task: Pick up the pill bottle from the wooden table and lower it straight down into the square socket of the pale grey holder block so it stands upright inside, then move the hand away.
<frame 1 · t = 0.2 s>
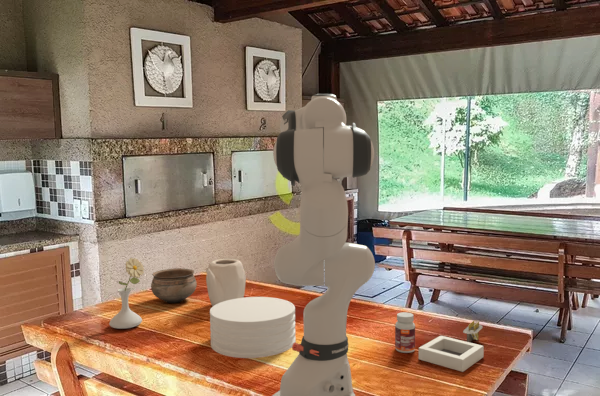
hand: (324, 185, 169), 52 cm above the table, tool tilted 20°, fingers open, 8 cm apart
cooking pot: (174, 301, 222), on the table
flower in vase: (128, 326, 190), on the table
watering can: (225, 307, 212), on the table
plate stack: (253, 342, 173), on the table
holder block: (451, 358, 156), on the table
pill bottle: (405, 350, 163), on the table
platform: (473, 343, 170), on the table
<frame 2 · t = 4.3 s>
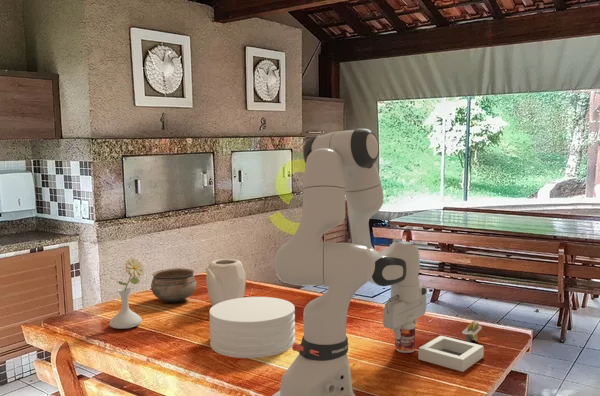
hand: (404, 335, 163), 5 cm above the table, tool pointing down, fingers closed on pill bottle, 6 cm apart
pill bottle: (405, 350, 163), on the table, touching gripper
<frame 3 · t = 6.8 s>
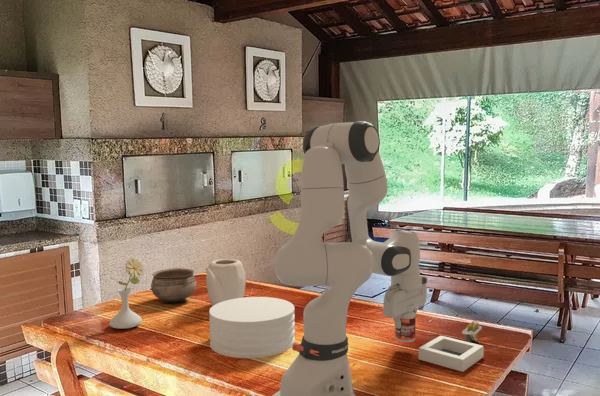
hand: (405, 324, 163), 8 cm above the table, tool pointing down, fingers closed on pill bottle, 6 cm apart
pill bottle: (405, 339, 163), point 3 cm above the table, touching gripper
everything else where it was.
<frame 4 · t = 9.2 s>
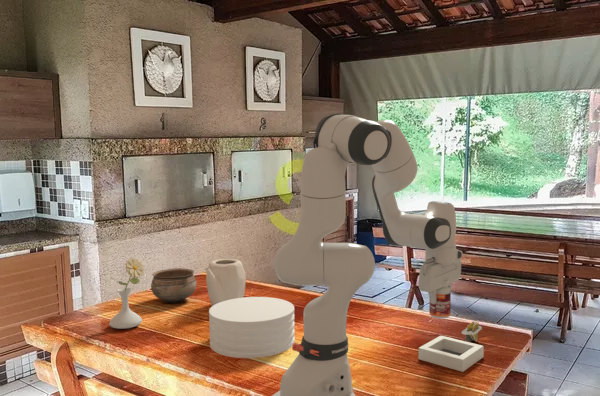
hand: (439, 300, 156), 17 cm above the table, tool pointing down, fingers closed on pill bottle, 6 cm apart
pill bottle: (439, 316, 157), point 12 cm above the table, touching gripper
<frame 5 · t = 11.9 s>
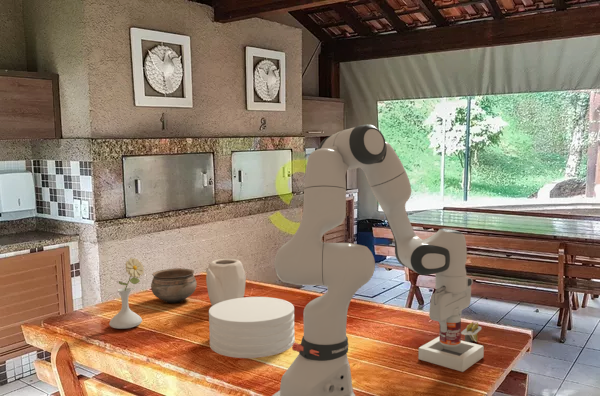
hand: (450, 328, 156), 9 cm above the table, tool pointing down, fingers closed on pill bottle, 6 cm apart
pill bottle: (450, 344, 156), point 4 cm above the table, touching gripper
when the fingers open (6 cm above the table, at t = 14.1 s): pill bottle stays where it is, resting on holder block.
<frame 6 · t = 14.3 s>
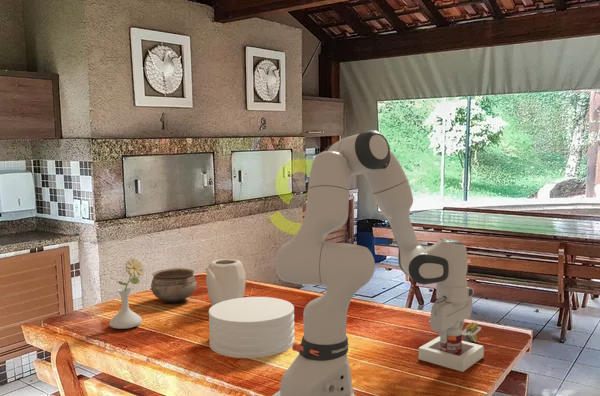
hand: (451, 338, 156), 6 cm above the table, tool pointing down, fingers open, 8 cm apart
pill bottle: (450, 357, 156), resting on holder block
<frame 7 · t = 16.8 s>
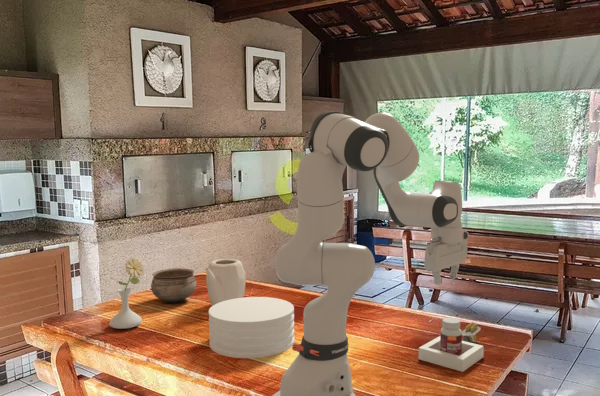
hand: (445, 281, 155), 23 cm above the table, tool pointing down, fingers open, 8 cm apart
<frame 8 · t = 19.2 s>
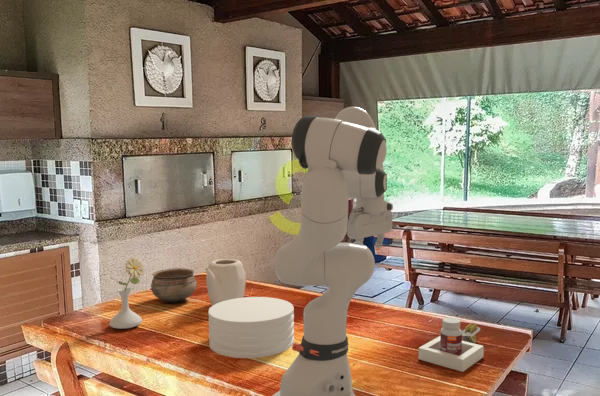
hand: (370, 249, 166), 31 cm above the table, tool pointing down, fingers open, 8 cm apart
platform: (470, 346, 167), on the table, touching holder block
everything else where it was.
at the end: pill bottle 0.1 cm off-centre on the holder block, point 0.1 cm above the holder block's base; pill bottle tilted 0°; the gripper is holding nothing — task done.
